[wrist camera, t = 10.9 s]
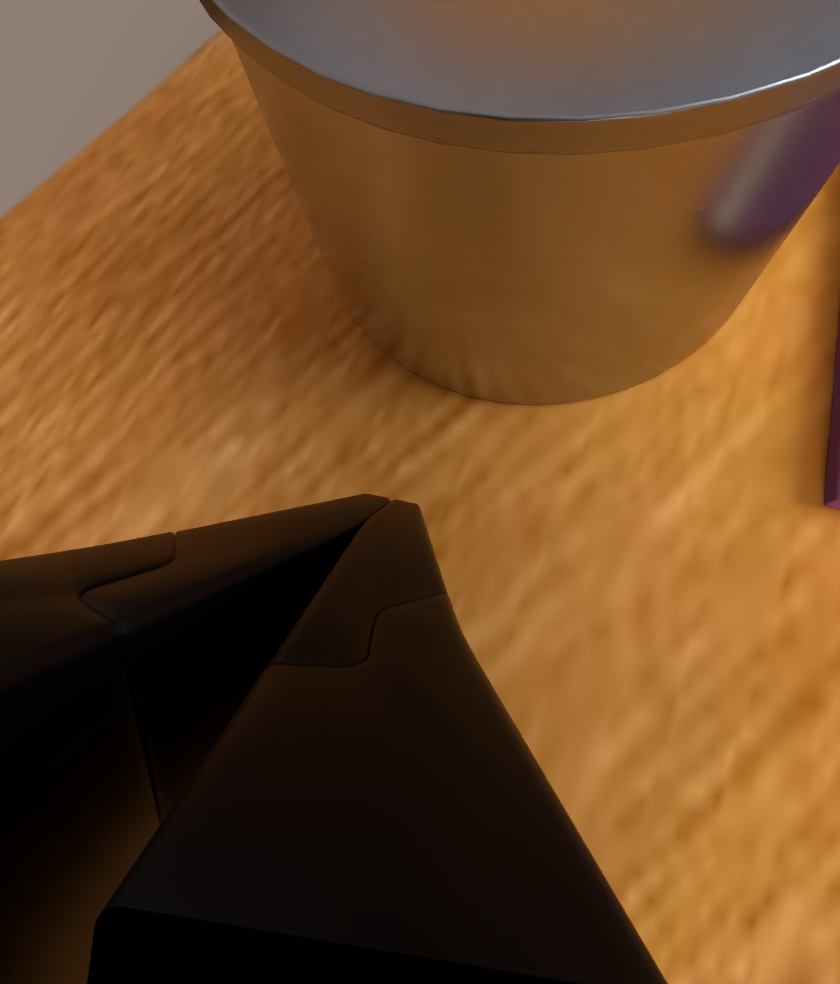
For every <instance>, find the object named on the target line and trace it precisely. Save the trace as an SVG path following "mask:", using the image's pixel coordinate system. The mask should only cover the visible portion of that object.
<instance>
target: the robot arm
mask: <svg viewBox="0 0 840 984" xmlns="http://www.w3.org/2000/svg"><path fill="white" fill-rule="evenodd" d="M0 984H668V983H667V982H666V980H665V978H664V977H663V975H662V973H661V971H660V970H659V968H658V966H657V965H656V963H655V961H654V960H653V958H652V956H651V954H650V953H649V951H648V949H647V948H646V946H645V944H644V943H643V941H642V939H641V937H640V936H639V934H638V932H637V931H636V929H635V927H634V926H633V924H632V922H631V920H630V919H629V917H628V915H627V914H626V912H625V910H624V909H623V907H622V905H621V904H620V902H619V900H618V898H617V897H616V895H615V893H614V892H613V890H612V888H611V887H610V885H609V883H608V881H607V880H606V878H605V876H604V875H603V873H602V871H601V870H600V868H599V866H598V864H597V863H596V861H595V859H594V858H593V856H592V854H591V853H590V851H589V849H588V847H587V846H586V844H585V842H584V841H583V839H582V837H581V836H580V834H579V832H578V831H577V829H576V827H575V825H574V824H573V822H572V820H571V819H570V817H569V815H568V814H567V812H566V810H565V808H564V807H563V805H562V803H561V802H560V800H559V798H558V797H557V795H556V793H555V791H554V790H553V788H552V786H551V785H550V783H549V781H548V780H547V778H546V776H545V774H544V773H543V771H542V769H541V768H540V766H539V764H538V763H537V761H536V759H535V758H534V756H533V754H532V752H531V751H530V749H529V747H528V746H527V744H526V742H525V741H524V739H523V737H522V735H521V734H520V732H519V730H518V729H517V727H516V725H515V724H514V722H513V720H512V718H511V717H510V715H509V713H508V712H507V710H506V708H505V707H504V705H503V703H502V701H501V700H500V698H499V696H498V695H497V693H496V691H495V690H494V688H493V686H492V685H491V683H490V681H489V679H488V678H487V676H486V674H485V673H484V671H483V669H482V668H481V666H480V664H479V662H478V661H477V659H476V657H475V655H474V654H473V652H472V650H471V648H470V646H469V644H468V642H467V640H466V639H465V637H464V635H463V633H462V630H461V628H460V625H459V623H458V620H457V618H456V615H455V613H454V610H453V607H452V604H451V601H450V598H449V596H448V594H447V591H446V587H445V584H444V581H443V578H442V575H441V572H440V569H439V566H438V563H437V559H436V556H435V553H434V550H433V547H432V544H431V541H430V538H429V534H428V531H427V528H426V525H425V522H424V519H423V516H422V513H421V510H420V507H419V505H417V504H415V503H410V502H406V501H401V500H393V501H390V500H389V499H388V498H386V497H381V496H376V495H371V494H361V495H356V496H351V497H346V498H341V499H336V500H332V501H327V502H322V503H317V504H312V505H307V506H302V507H297V508H292V509H287V510H282V511H277V512H272V513H267V514H262V515H257V516H252V517H247V518H242V519H238V520H233V521H228V522H223V523H218V524H213V525H208V526H203V527H198V528H193V529H188V530H183V531H178V532H176V533H175V536H174V534H173V533H172V532H168V533H163V534H158V535H153V536H148V537H143V538H137V539H132V540H127V541H121V542H116V543H110V544H105V545H99V546H93V547H87V548H81V549H74V550H68V551H62V552H56V553H50V554H43V555H36V556H29V557H23V558H16V559H9V560H3V561H0Z"/></svg>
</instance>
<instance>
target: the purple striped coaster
mask: <svg viewBox="0 0 840 984" xmlns="http://www.w3.org/2000/svg"><path fill="white" fill-rule="evenodd" d="M824 506H826V507H831V508H836V509H840V318H839V330H838V342H837V354H836V366H835V378H834V390H833V402H832V414H831V425H830V437H829V449H828V461H827V473H826V485H825V497H824Z"/></svg>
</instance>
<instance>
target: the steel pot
mask: <svg viewBox="0 0 840 984" xmlns="http://www.w3.org/2000/svg"><path fill="white" fill-rule="evenodd" d="M200 2H201V3H202V5H203V6H204V8H205V9H206V11H207V13H208V14H209V16H210V17H211V18H212V19H213V20H214V21H215V22H216V23H217V24H218V26H219V27H220V28H221V29H222V30H223V31H224V32H225V33H226V34H227V35H228V36H229V37H230V38H231V39H232V41H233V44H234V46H235V48H236V51H237V53H238V56H239V58H240V60H241V63H242V65H243V68H244V70H245V72H246V75H247V77H248V80H249V82H250V84H251V87H252V89H253V92H254V94H255V96H256V99H257V101H258V104H259V106H260V108H261V111H262V113H263V115H264V118H265V120H266V123H267V125H268V127H269V130H270V132H271V135H272V137H273V139H274V142H275V144H276V147H277V149H278V151H279V154H280V156H281V159H282V161H283V163H284V166H285V168H286V171H287V173H288V175H289V178H290V180H291V182H292V185H293V187H294V190H295V192H296V194H297V197H298V199H299V202H300V204H301V206H302V209H303V211H304V214H305V216H306V218H307V221H308V223H309V226H310V228H311V230H312V233H313V235H314V238H315V240H316V242H317V245H318V247H319V249H320V252H321V254H322V257H323V259H324V261H325V264H326V266H327V269H328V271H329V273H330V276H331V278H332V280H333V283H334V285H335V287H336V290H337V292H338V294H339V297H340V299H341V300H342V302H343V303H344V305H345V307H346V308H347V310H348V311H349V313H350V315H351V316H352V318H353V319H354V321H355V322H356V323H357V324H358V325H359V326H360V328H361V329H362V330H363V331H364V332H365V334H366V335H367V336H368V337H369V338H370V339H371V340H372V341H373V342H374V343H375V344H376V345H377V346H379V347H380V348H381V349H382V350H383V351H384V352H385V353H386V354H388V355H389V356H390V357H391V358H392V359H394V360H395V361H397V362H399V363H400V364H402V365H403V366H405V367H406V368H408V369H409V370H411V371H412V372H414V373H415V374H417V375H419V376H421V377H423V378H426V379H428V380H430V381H432V382H434V383H436V384H438V385H440V386H442V387H445V388H448V389H451V390H454V391H457V392H460V393H463V394H466V395H469V396H474V397H478V398H483V399H488V400H493V401H498V402H507V403H520V404H555V403H568V402H574V401H580V400H586V399H592V398H597V397H601V396H604V395H608V394H611V393H615V392H618V391H621V390H625V389H628V388H630V387H632V386H635V385H637V384H639V383H642V382H644V381H646V380H649V379H651V378H653V377H656V376H657V375H659V374H661V373H663V372H664V371H666V370H668V369H669V368H671V367H673V366H674V365H676V364H678V363H680V362H681V361H683V360H684V359H685V358H687V357H688V356H689V355H691V354H692V353H693V352H694V351H696V350H697V349H698V348H700V347H701V346H702V345H703V344H705V343H706V342H707V341H708V340H709V339H710V338H711V337H712V336H713V335H714V334H715V333H716V332H717V331H718V330H719V329H720V328H721V327H722V326H723V325H724V324H725V322H726V321H727V320H728V319H729V318H730V316H731V315H732V313H733V312H734V311H735V309H736V308H737V307H738V305H739V304H740V302H741V301H742V300H743V298H744V297H745V295H746V294H747V293H748V291H749V290H750V288H751V287H752V286H753V284H754V283H755V281H756V280H757V278H758V277H759V276H760V274H761V273H762V271H763V270H764V269H765V267H766V266H767V264H768V263H769V262H770V260H771V259H772V257H773V256H774V255H775V253H776V252H777V250H778V249H779V247H780V246H781V245H782V243H783V242H784V240H785V239H786V238H787V236H788V235H789V233H790V232H791V231H792V229H793V228H794V226H795V225H796V223H797V222H798V221H799V219H800V218H801V216H802V215H803V214H804V212H805V211H806V209H807V208H808V207H809V205H810V204H811V202H812V201H813V200H814V198H815V197H816V195H817V194H818V192H819V191H820V190H821V188H822V187H823V185H824V184H825V183H826V181H827V180H828V178H829V177H830V176H831V174H832V173H833V171H834V170H835V169H836V167H837V166H838V164H839V163H840V0H200Z"/></svg>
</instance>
